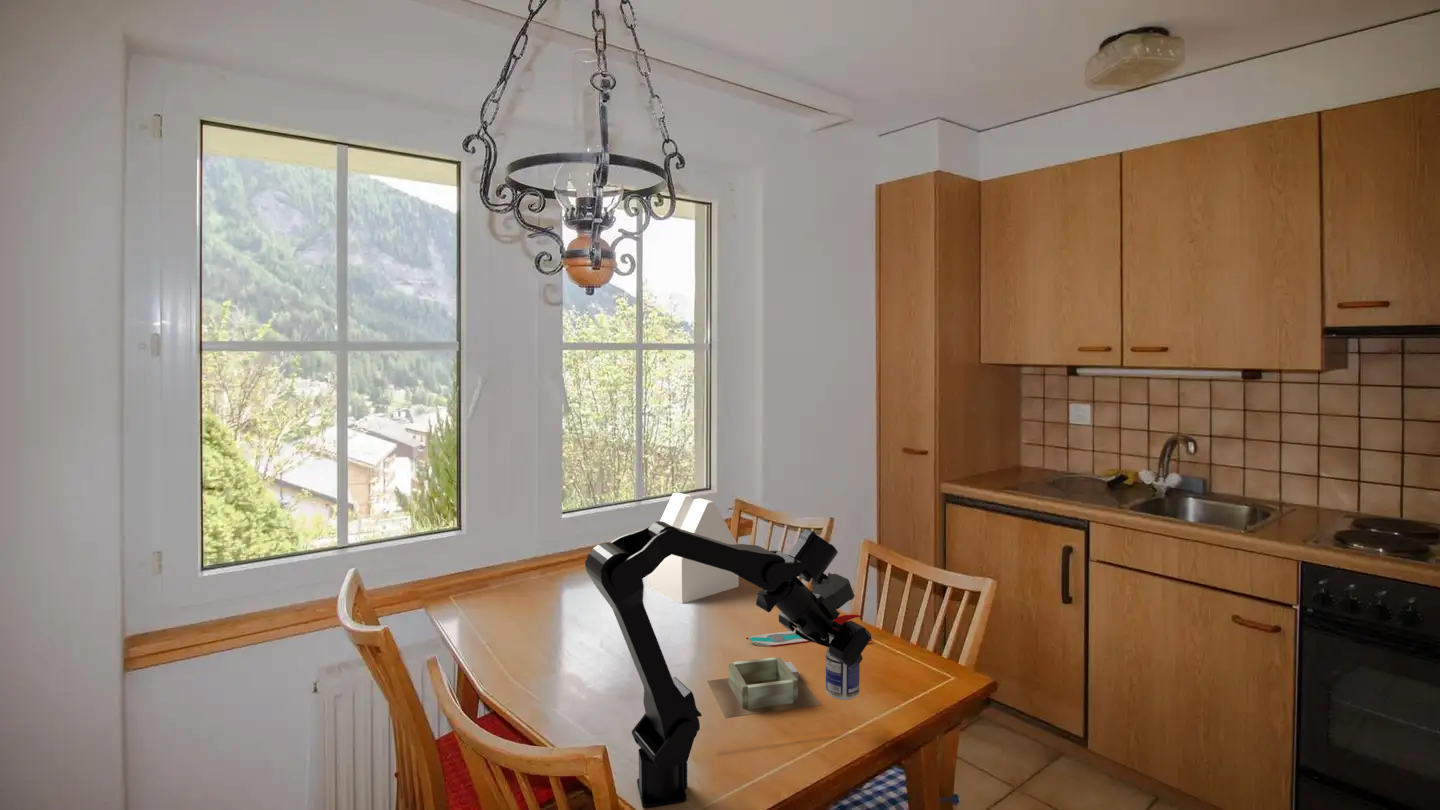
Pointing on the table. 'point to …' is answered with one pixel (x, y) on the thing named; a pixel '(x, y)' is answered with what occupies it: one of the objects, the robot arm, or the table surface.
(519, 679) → the table surface
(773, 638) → the toy spaceship
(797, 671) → the block
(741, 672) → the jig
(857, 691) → the pill bottle
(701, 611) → the table surface
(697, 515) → the white sloped block
